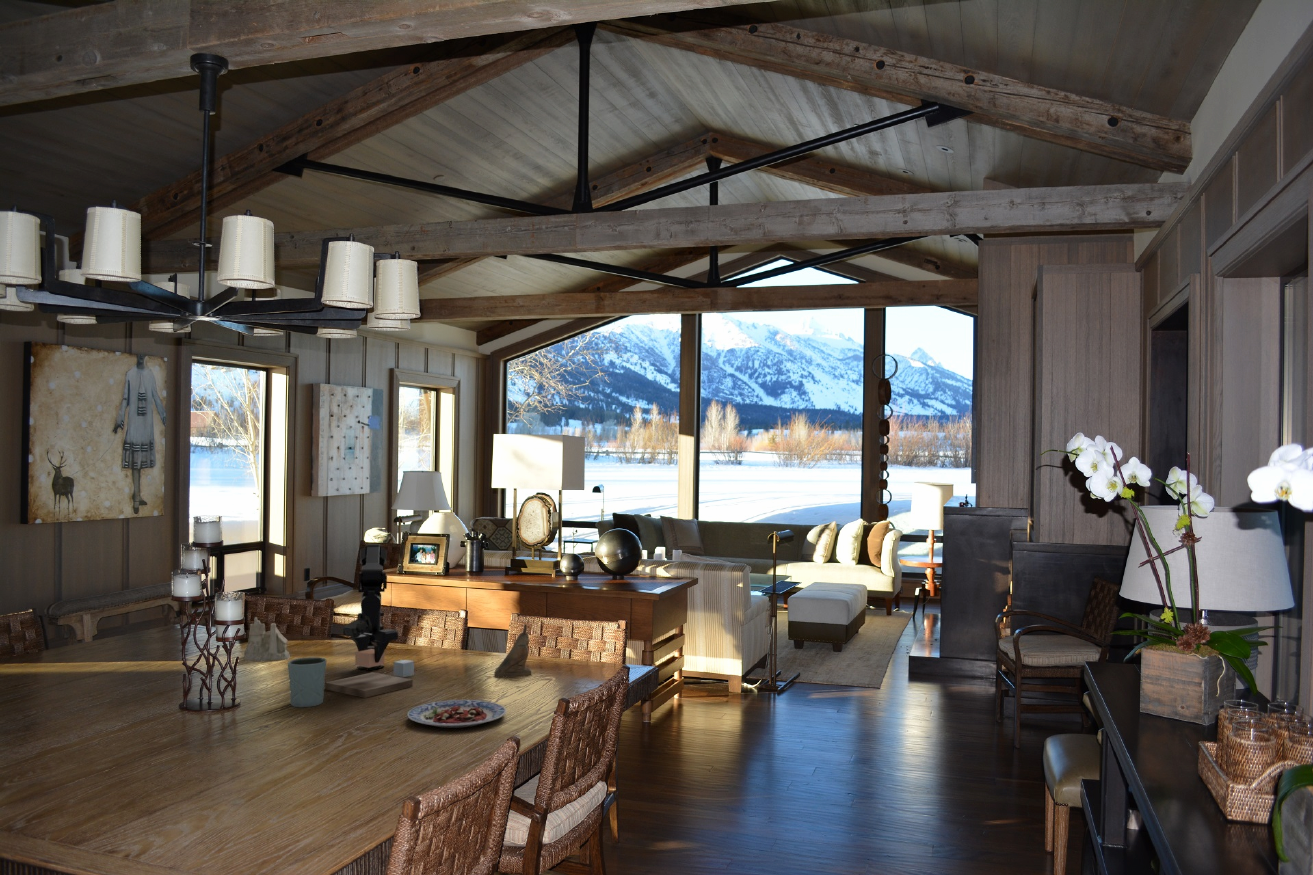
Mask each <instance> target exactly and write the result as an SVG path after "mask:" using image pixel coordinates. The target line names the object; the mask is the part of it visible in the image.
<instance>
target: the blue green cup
mask: <svg viewBox="0 0 1313 875" xmlns="http://www.w3.org/2000/svg"><path fill="white" fill-rule="evenodd" d="M287 667H288V669H287V670H288V677H289V678H288V679H289V691H290V693H289V694H290V695H289V696H290V698H289V699H290V705H291V706H292V707H296V708H310V707H315V706H320V705H322V704H323V702H324V695H325V694H324V693H325V692H324V689H325V676H326V671H327V670H326V669H327V659H326V658H324V657H319V656H317V657H316V656H315V657H313V656H310V657H300V658H299V657H298V658H295V659H291V660H289V661H288V662H287Z"/></svg>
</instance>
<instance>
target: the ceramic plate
mask: <svg viewBox="0 0 1313 875" xmlns="http://www.w3.org/2000/svg"><path fill="white" fill-rule="evenodd" d="M506 713H507V709H506V707H505V706H503V705H502V704H498V703H496V702H491V701H485V700H477V699H475V700H474V699H454V700H453V699H452V700H450V699H449V700H443V701H435V702H430V703H425V704H421V705H418V706H415V707H413V708H411V709H410V710H409V711H408V712H407V717H408V719H409V720H411V721H412V722H416V723H419V724H422V725H428V726H432V727H435V728H436V727H437V728H445V729H446V728H452V729H457V728H469V727H473V726H479V725H483V724H485V723H487V722H492V721H496V720H498V719H500V718H501V717H504V716H505V715H506Z"/></svg>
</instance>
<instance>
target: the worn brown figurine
mask: <svg viewBox="0 0 1313 875" xmlns="http://www.w3.org/2000/svg"><path fill="white" fill-rule="evenodd" d="M527 630H528V626H527V624H526V623H525V624H524V627H523V631H522V632H521V633H520V634H519V635H517V638H516V639H515V641H514V643H513V645H512V648H511V649H510V650H509V652H508V653H507V655H506V656H505V658H504V659H503V660H502V661H501V663H500V664H499V665H498V667H496V669H495V671H494V677H495V678H518V677H520V678H521V677H528V675H531V676H532V670H531V669H530V668H529V667H526V663H527V660H528V657H529V644H530V635H529V633H528V632H527Z"/></svg>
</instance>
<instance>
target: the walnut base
mask: <svg viewBox="0 0 1313 875" xmlns="http://www.w3.org/2000/svg"><path fill="white" fill-rule="evenodd" d="M413 682H414V681H413V679H412V678H411V679H410V678H406V677H397V676H393V675H390V674H384V673H379V672H375V671H372V672H368V673H364V674H359V675H355V676H349V677H345V678H340V679H336V680H329V681H326V682H325V681H324V689H325V690H326V691H332V692H336V693H341V694H345V695H349V696H354V697H359V698H364V699H365V698H370V697H374V696H379V695H382V694H386V693H391V692H394V691H395V692H396V691H398V690H402V689H406V688H407V689H408V688H411V687H414V685H413Z"/></svg>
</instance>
